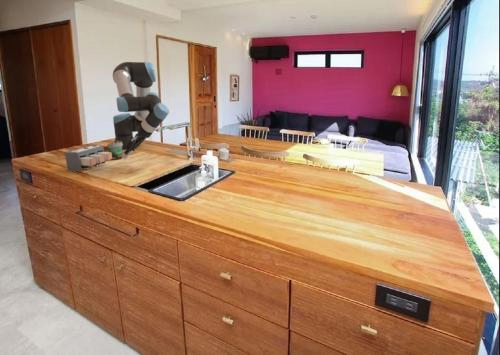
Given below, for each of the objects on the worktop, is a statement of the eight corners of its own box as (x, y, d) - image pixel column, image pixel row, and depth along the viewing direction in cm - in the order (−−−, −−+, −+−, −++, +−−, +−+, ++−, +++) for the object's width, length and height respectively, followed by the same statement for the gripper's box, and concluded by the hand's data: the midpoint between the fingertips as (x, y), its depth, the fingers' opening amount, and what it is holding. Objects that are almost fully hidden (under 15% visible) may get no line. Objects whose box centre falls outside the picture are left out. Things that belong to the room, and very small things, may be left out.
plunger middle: (104, 161, 181) (103, 155, 180) (99, 162, 178) (99, 156, 177) (93, 160, 183) (92, 154, 182) (88, 162, 180) (87, 155, 179)
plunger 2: (112, 158, 187) (111, 152, 186) (108, 160, 184) (107, 153, 183) (101, 157, 189) (100, 151, 188) (96, 159, 186) (95, 153, 185)
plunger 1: (96, 164, 175) (95, 157, 174) (91, 165, 172) (90, 159, 171) (84, 163, 177) (83, 156, 176) (79, 165, 174) (78, 158, 173)
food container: (119, 161, 195) (117, 144, 192) (109, 161, 196) (107, 144, 193) (127, 156, 207) (125, 140, 204) (117, 156, 207) (115, 140, 204)
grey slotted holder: (105, 162, 191) (103, 145, 188) (80, 171, 174) (77, 152, 171) (93, 161, 193) (90, 144, 190) (67, 170, 176) (64, 151, 173)
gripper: (144, 135, 167) (120, 165, 177) (158, 131, 179) (135, 159, 189) (134, 124, 167) (111, 154, 177) (149, 121, 179) (126, 149, 189)
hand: (123, 157), depth 183 cm, fingers closed
